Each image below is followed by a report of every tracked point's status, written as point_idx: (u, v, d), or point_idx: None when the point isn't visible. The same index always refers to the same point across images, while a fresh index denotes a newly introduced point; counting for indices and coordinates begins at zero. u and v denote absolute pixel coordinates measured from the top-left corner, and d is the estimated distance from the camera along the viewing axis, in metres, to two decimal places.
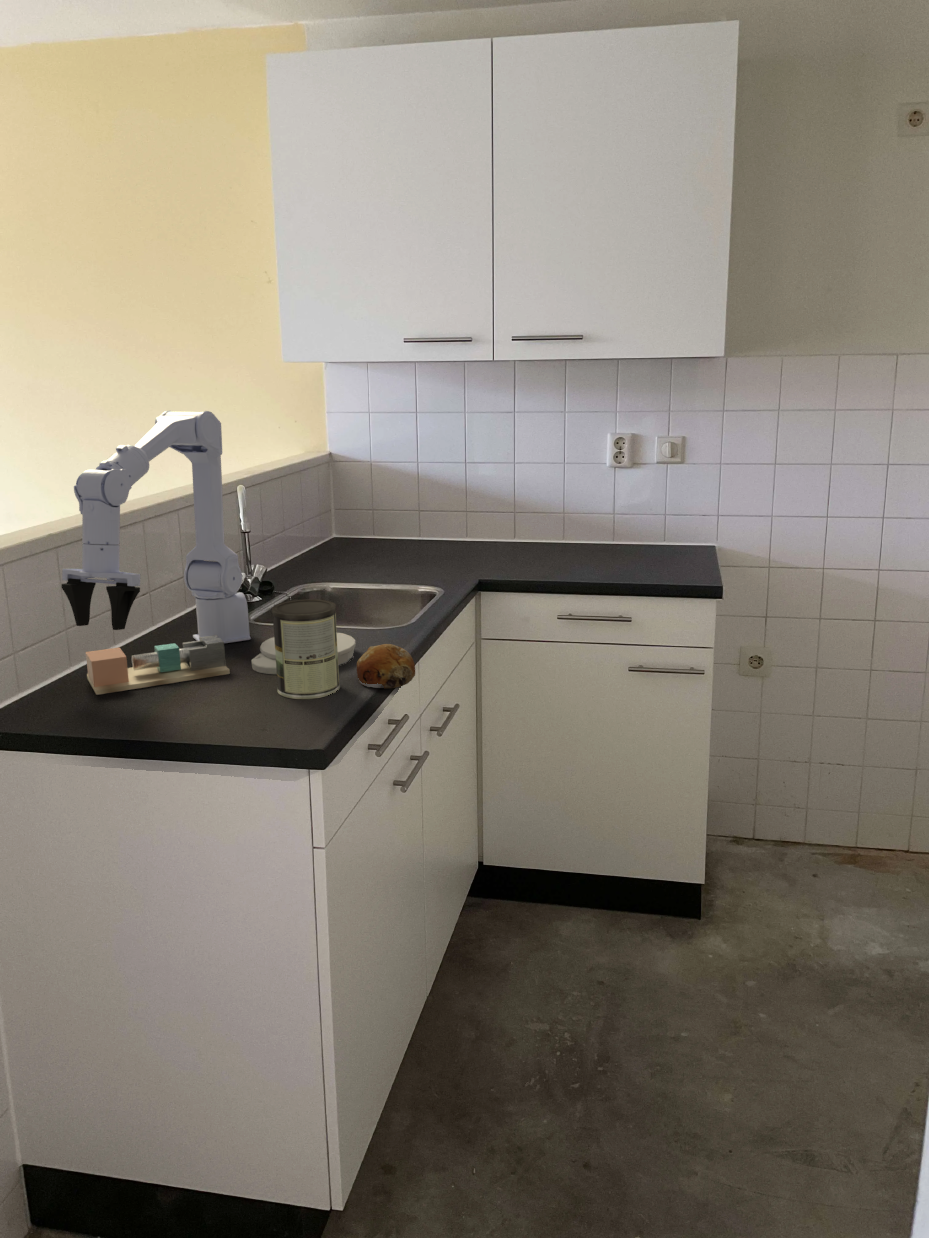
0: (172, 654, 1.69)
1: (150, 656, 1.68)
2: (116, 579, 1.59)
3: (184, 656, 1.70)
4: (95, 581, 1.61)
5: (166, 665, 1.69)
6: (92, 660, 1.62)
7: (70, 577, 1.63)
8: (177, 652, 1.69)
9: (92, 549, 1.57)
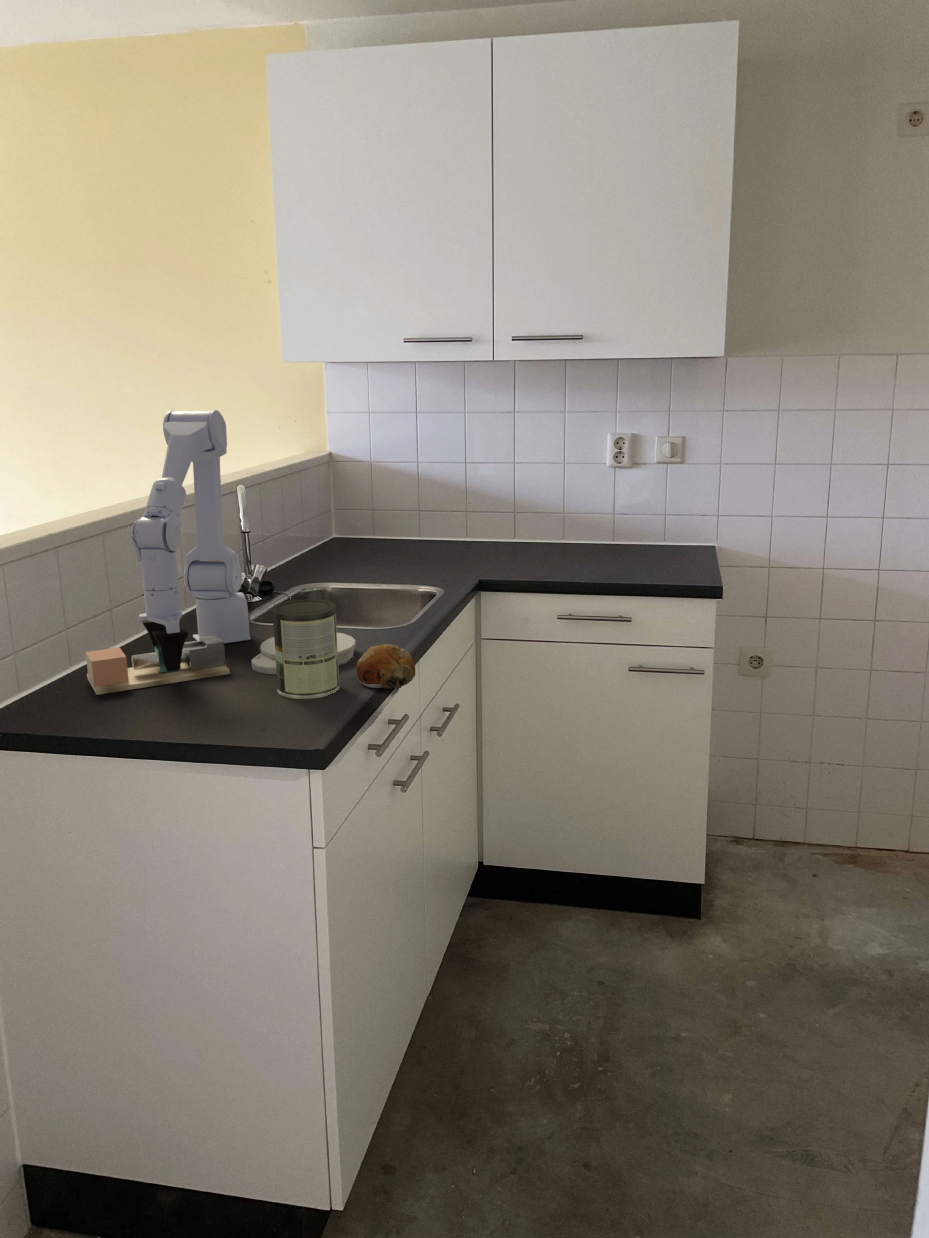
0: None
1: (150, 656, 1.68)
2: None
3: (184, 656, 1.70)
4: None
5: None
6: (92, 660, 1.62)
7: None
8: None
9: (145, 594, 1.65)
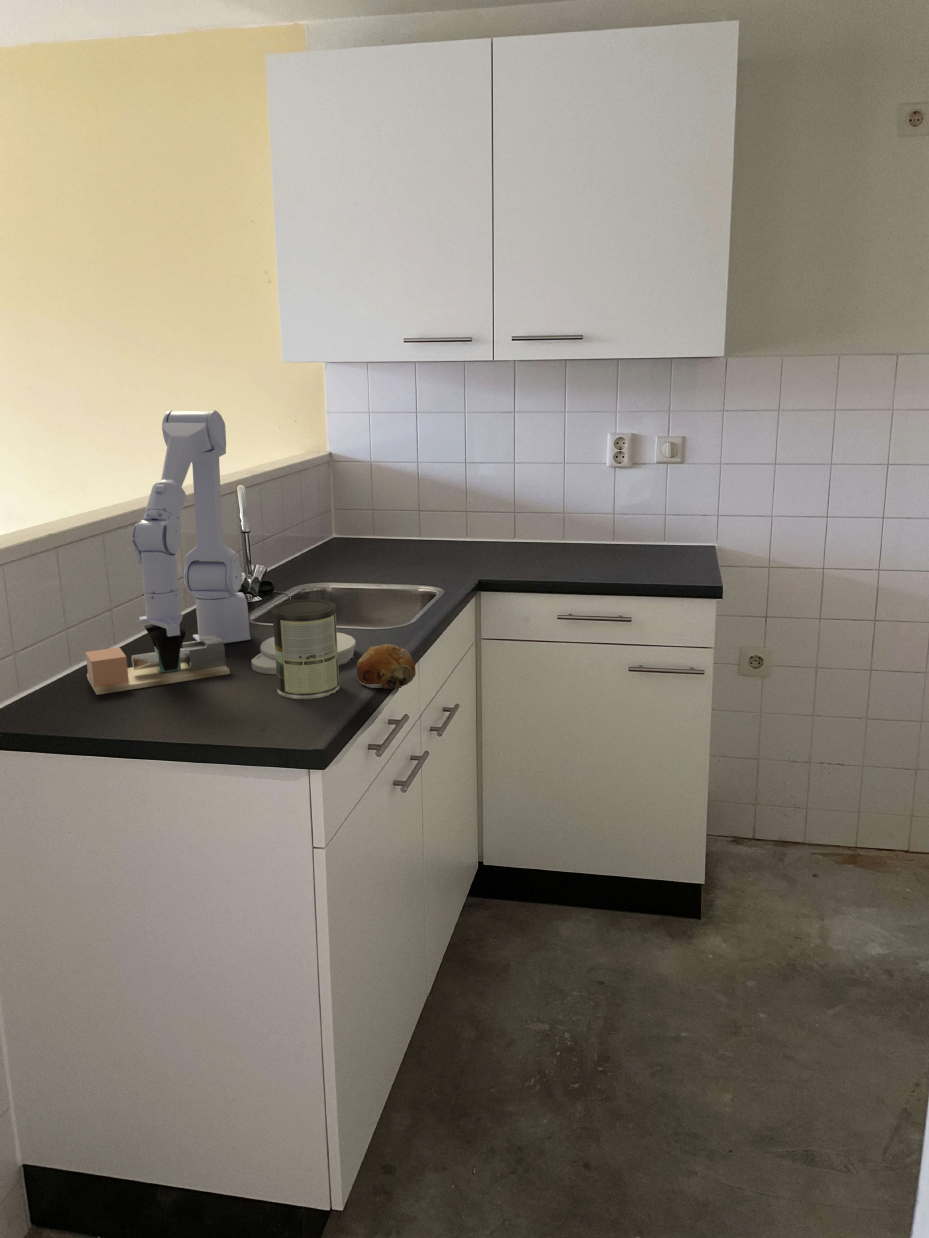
0: None
1: (150, 656, 1.68)
2: None
3: (184, 656, 1.70)
4: None
5: None
6: (92, 660, 1.62)
7: None
8: None
9: (146, 597, 1.66)
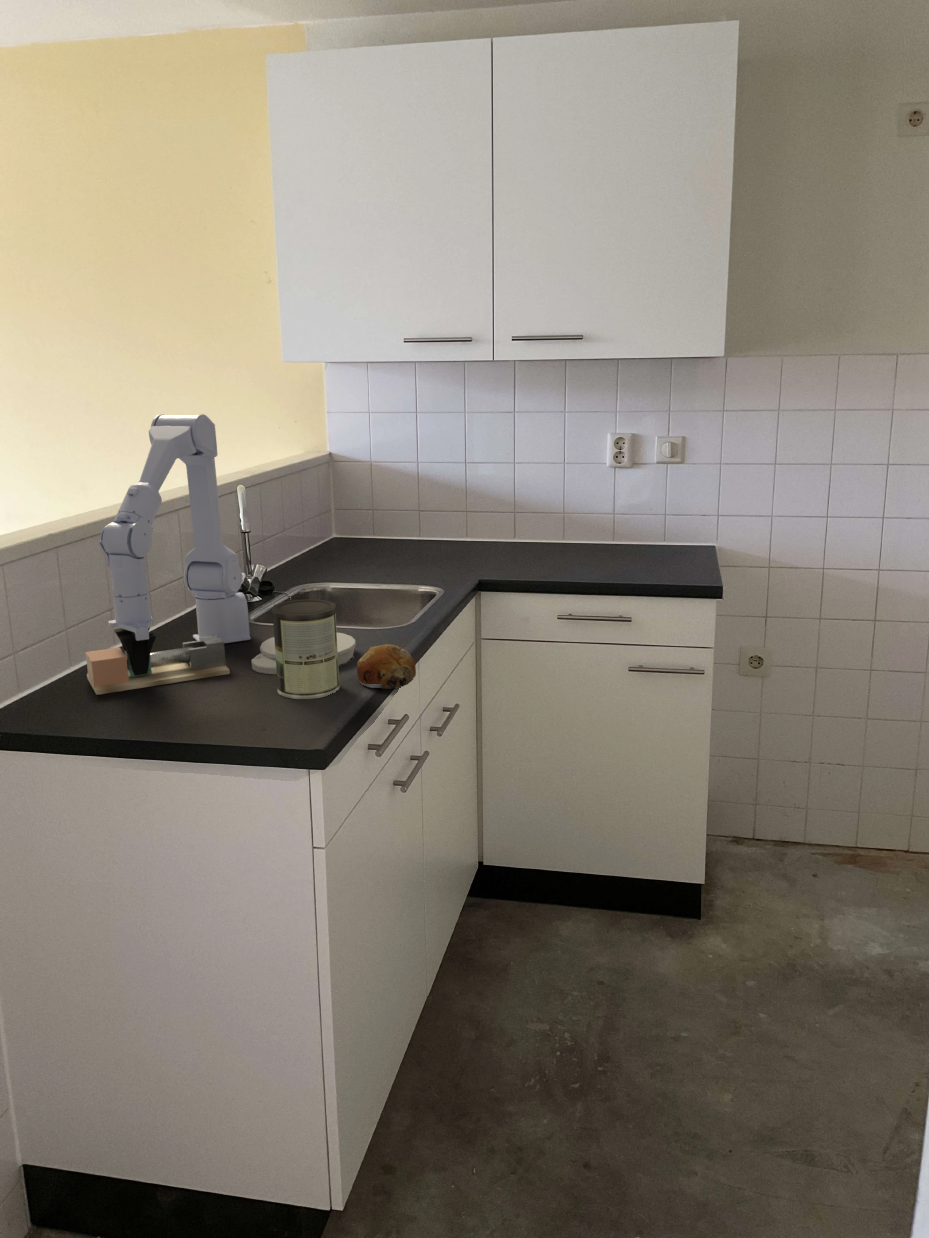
0: None
1: None
2: None
3: (155, 661, 1.68)
4: None
5: None
6: (92, 660, 1.62)
7: None
8: None
9: (114, 601, 1.63)
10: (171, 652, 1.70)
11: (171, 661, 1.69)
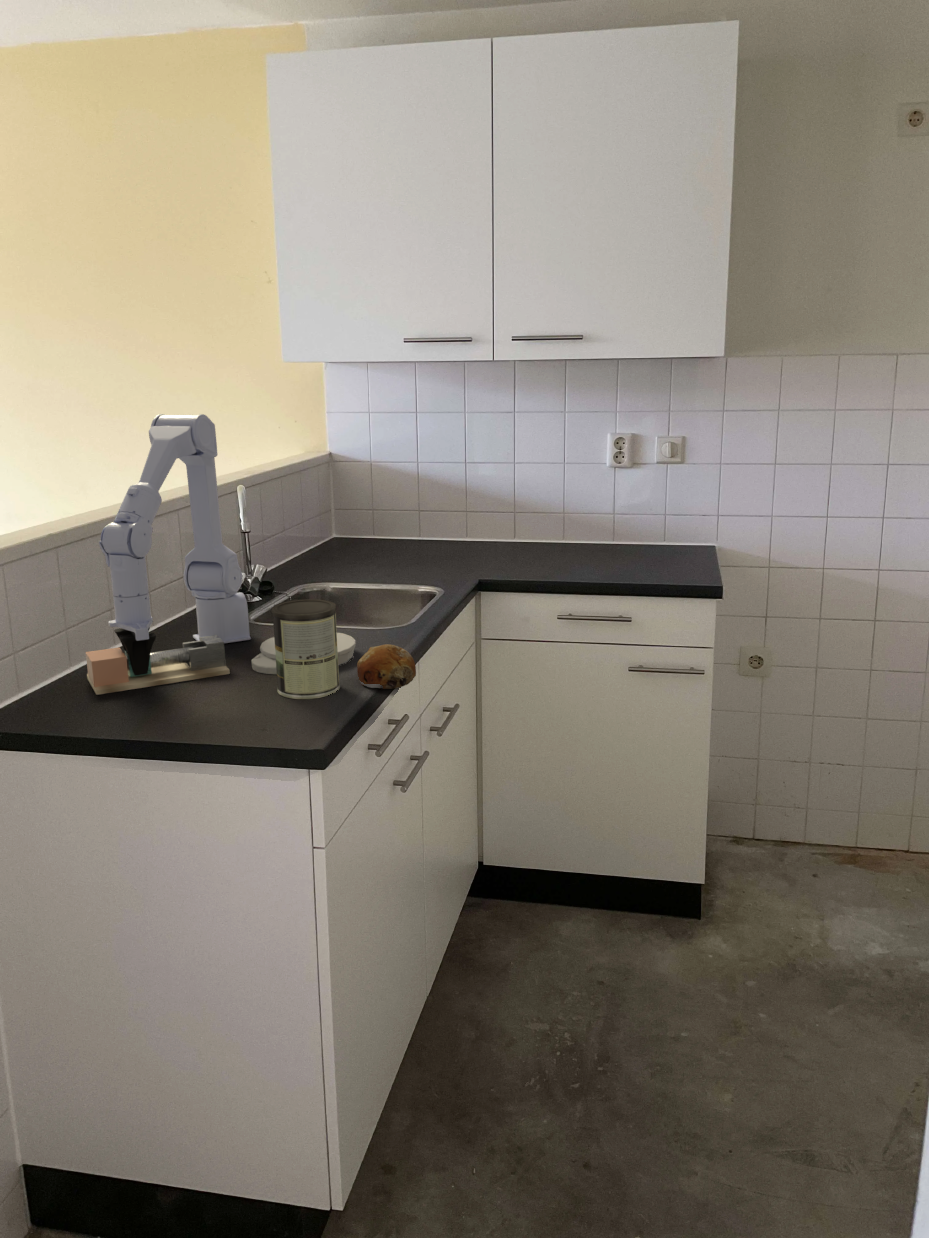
0: None
1: None
2: None
3: (155, 661, 1.68)
4: None
5: None
6: (92, 660, 1.62)
7: None
8: None
9: (114, 601, 1.63)
10: (171, 652, 1.70)
11: (171, 661, 1.69)
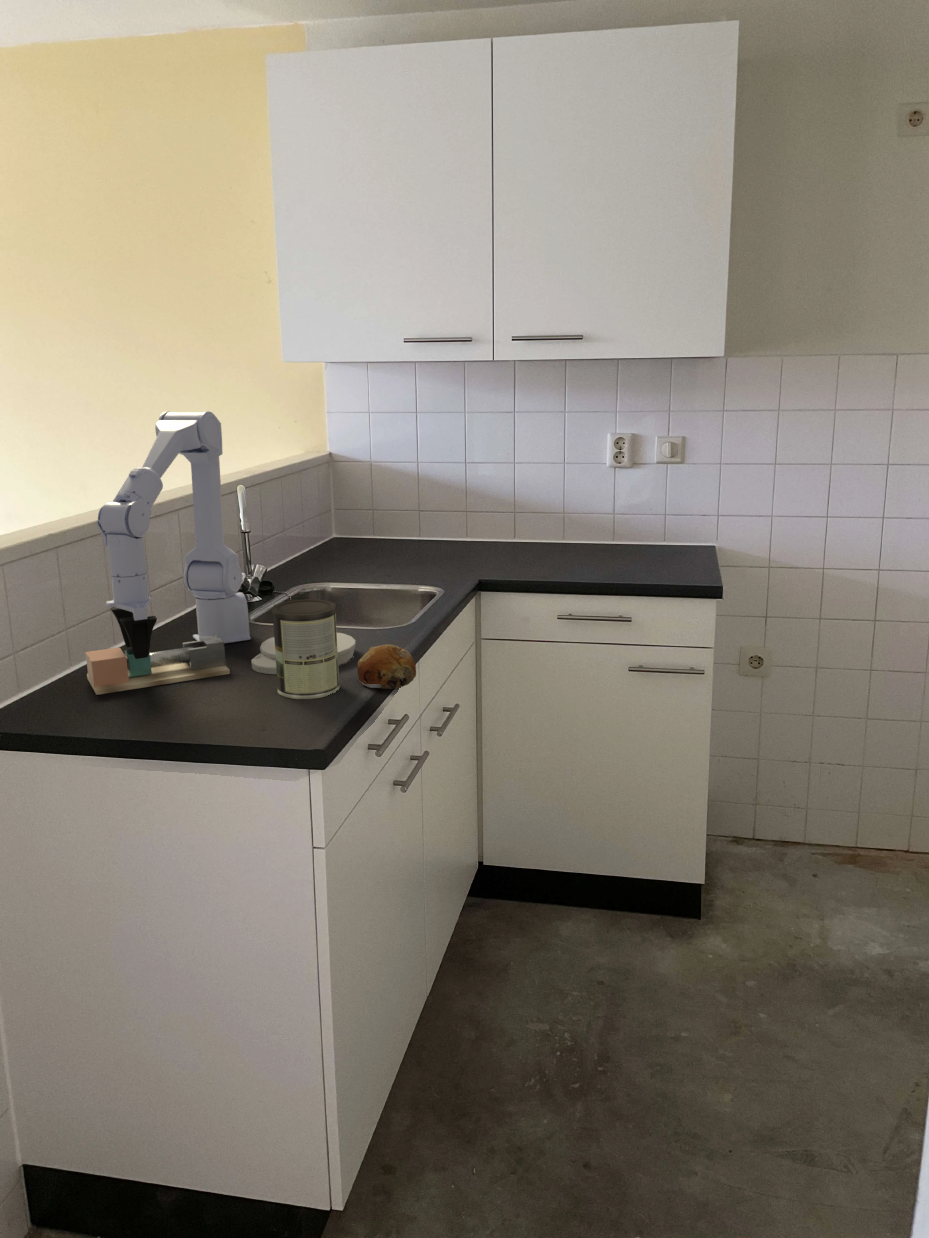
0: (142, 658, 1.67)
1: None
2: None
3: (155, 661, 1.68)
4: None
5: (136, 669, 1.67)
6: (92, 660, 1.62)
7: None
8: None
9: (112, 581, 1.62)
10: (171, 652, 1.70)
11: (171, 661, 1.69)
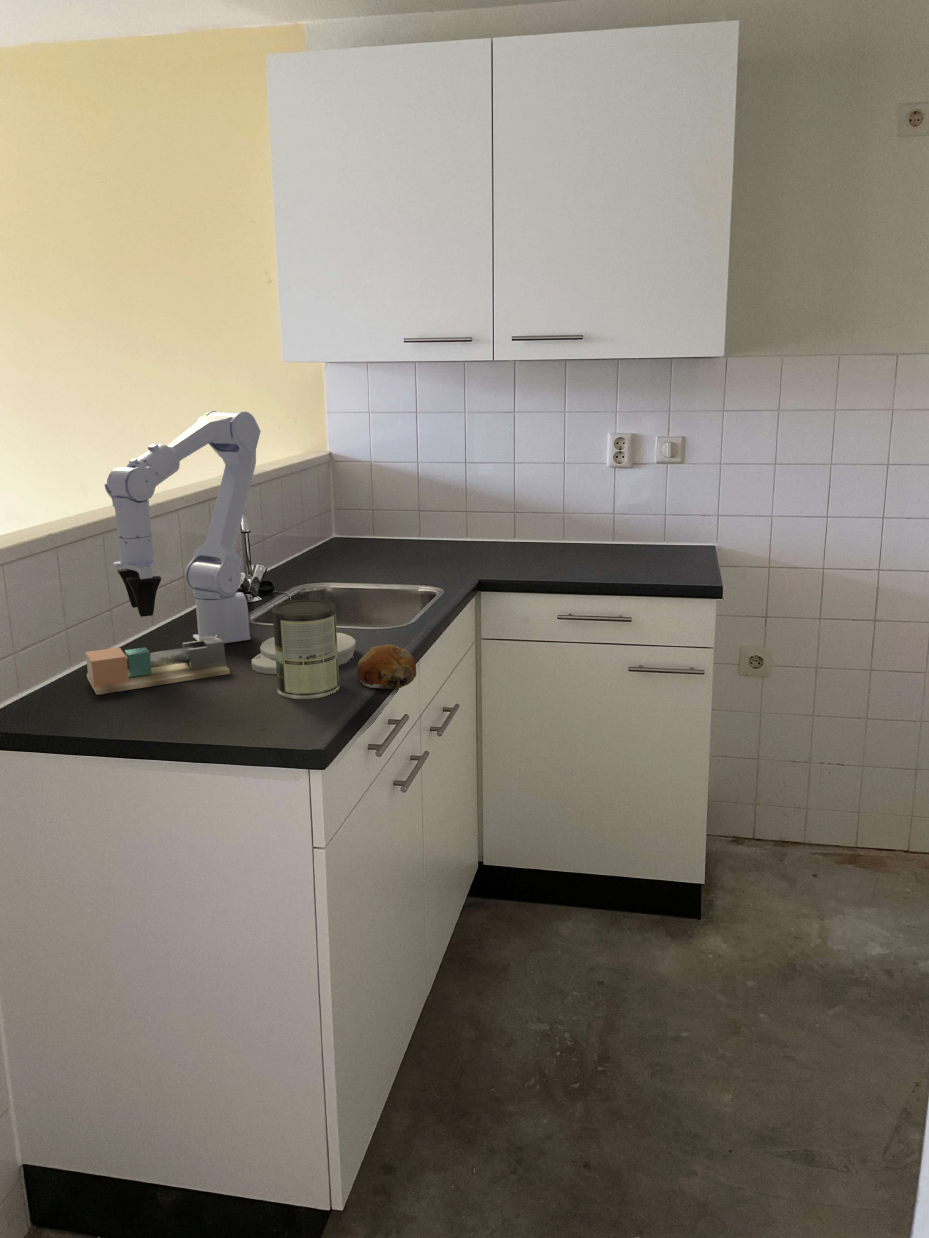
0: (142, 658, 1.67)
1: None
2: None
3: (155, 661, 1.68)
4: None
5: (136, 669, 1.67)
6: (92, 660, 1.62)
7: None
8: (147, 656, 1.67)
9: (119, 542, 1.71)
10: (171, 652, 1.70)
11: (171, 661, 1.69)
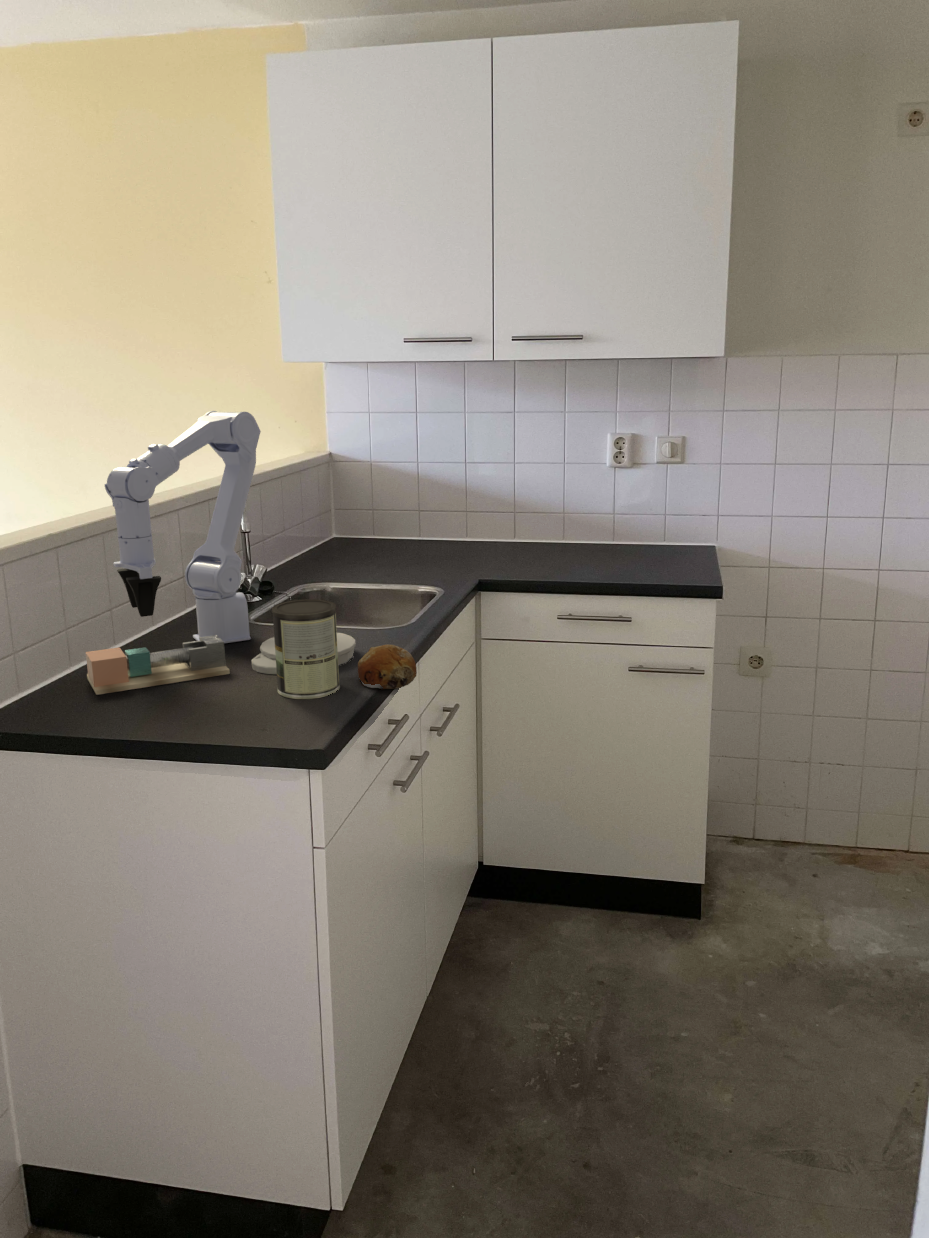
0: (142, 658, 1.67)
1: None
2: None
3: (155, 661, 1.68)
4: None
5: (136, 669, 1.67)
6: (92, 660, 1.62)
7: None
8: (147, 656, 1.67)
9: (119, 542, 1.71)
10: (171, 652, 1.70)
11: (171, 661, 1.69)
